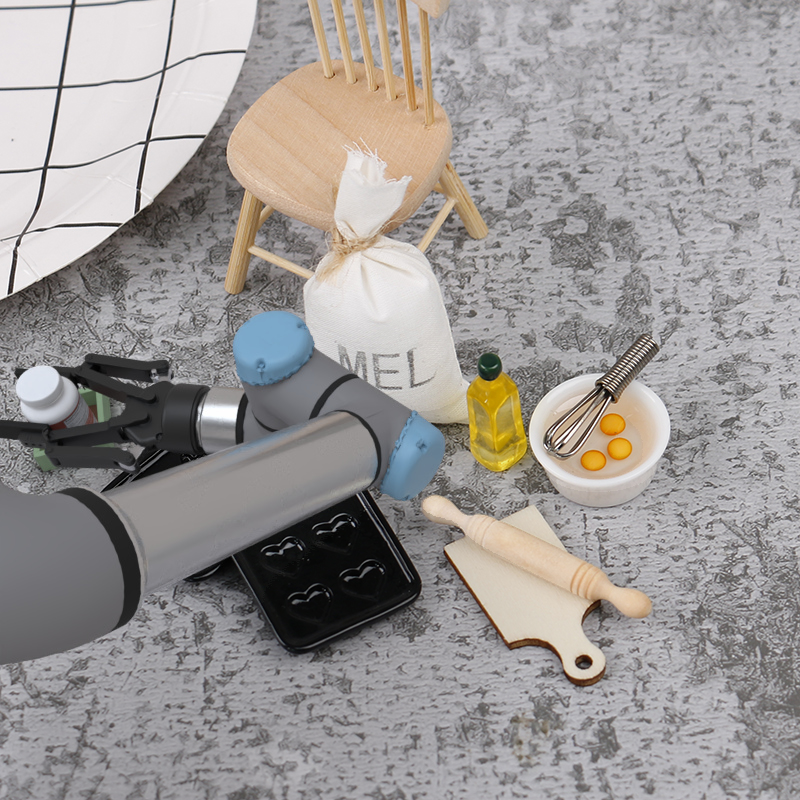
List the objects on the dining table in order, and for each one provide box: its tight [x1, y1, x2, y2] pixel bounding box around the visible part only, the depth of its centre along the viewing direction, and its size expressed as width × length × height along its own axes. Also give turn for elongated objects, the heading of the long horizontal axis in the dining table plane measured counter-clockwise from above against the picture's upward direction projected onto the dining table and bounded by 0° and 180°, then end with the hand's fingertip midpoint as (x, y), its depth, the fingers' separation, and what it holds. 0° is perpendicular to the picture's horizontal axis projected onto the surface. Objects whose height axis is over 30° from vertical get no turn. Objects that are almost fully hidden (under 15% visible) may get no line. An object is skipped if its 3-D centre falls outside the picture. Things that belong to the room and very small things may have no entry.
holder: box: [32, 387, 115, 472], centre depth 122 cm, size 9×9×4 cm
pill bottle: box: [15, 364, 98, 447], centre depth 104 cm, size 6×6×11 cm
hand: (8, 402), depth 104 cm, fingers closed on pill bottle, 6 cm apart
